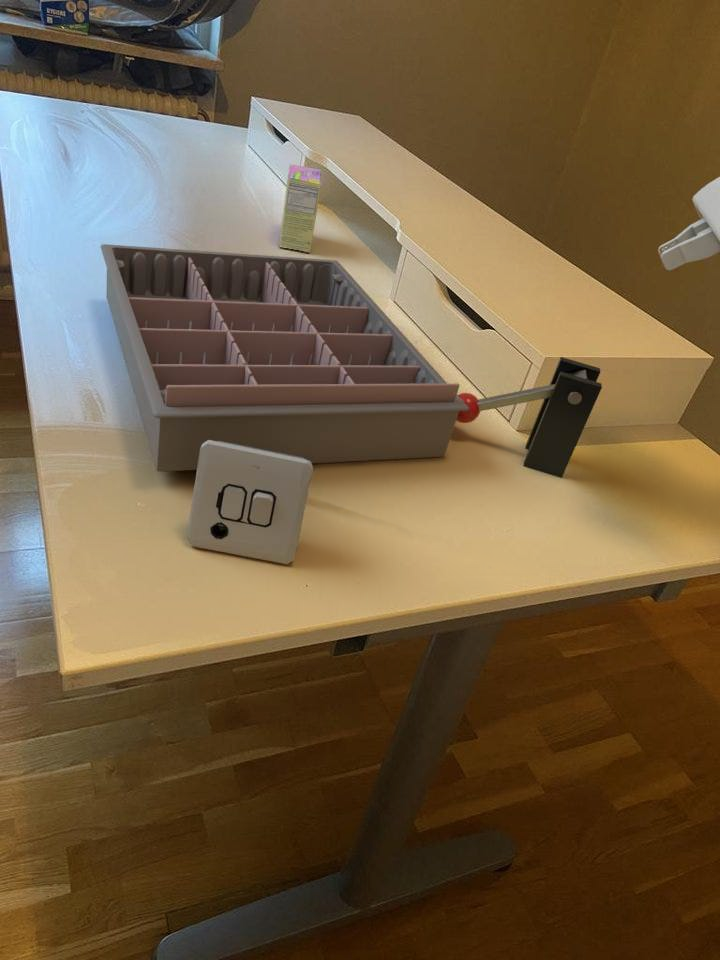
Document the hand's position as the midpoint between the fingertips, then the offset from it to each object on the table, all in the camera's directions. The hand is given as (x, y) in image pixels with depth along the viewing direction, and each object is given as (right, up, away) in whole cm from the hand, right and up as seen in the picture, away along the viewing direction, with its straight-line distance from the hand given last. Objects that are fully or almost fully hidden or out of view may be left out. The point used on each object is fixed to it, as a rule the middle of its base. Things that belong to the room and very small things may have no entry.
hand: (661, 259), depth 70 cm
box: (-40, +22, +62) cm, 77 cm away
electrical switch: (-39, -26, -5) cm, 47 cm away
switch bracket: (-8, -20, +15) cm, 26 cm away
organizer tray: (-41, -9, +18) cm, 46 cm away
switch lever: (-11, -13, +12) cm, 21 cm away
